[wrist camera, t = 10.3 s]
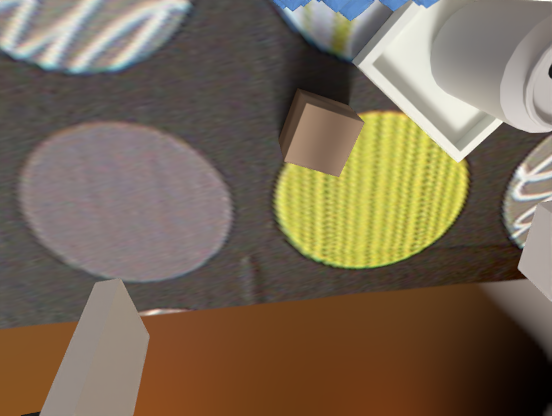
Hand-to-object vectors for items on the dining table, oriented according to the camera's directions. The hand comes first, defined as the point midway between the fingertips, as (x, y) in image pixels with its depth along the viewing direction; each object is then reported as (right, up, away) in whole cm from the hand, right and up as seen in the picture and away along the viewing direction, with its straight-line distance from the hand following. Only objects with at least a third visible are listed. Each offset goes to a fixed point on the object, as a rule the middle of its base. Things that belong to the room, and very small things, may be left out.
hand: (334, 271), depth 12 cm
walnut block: (+1, +10, +22) cm, 24 cm away
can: (+14, +16, +19) cm, 29 cm away
